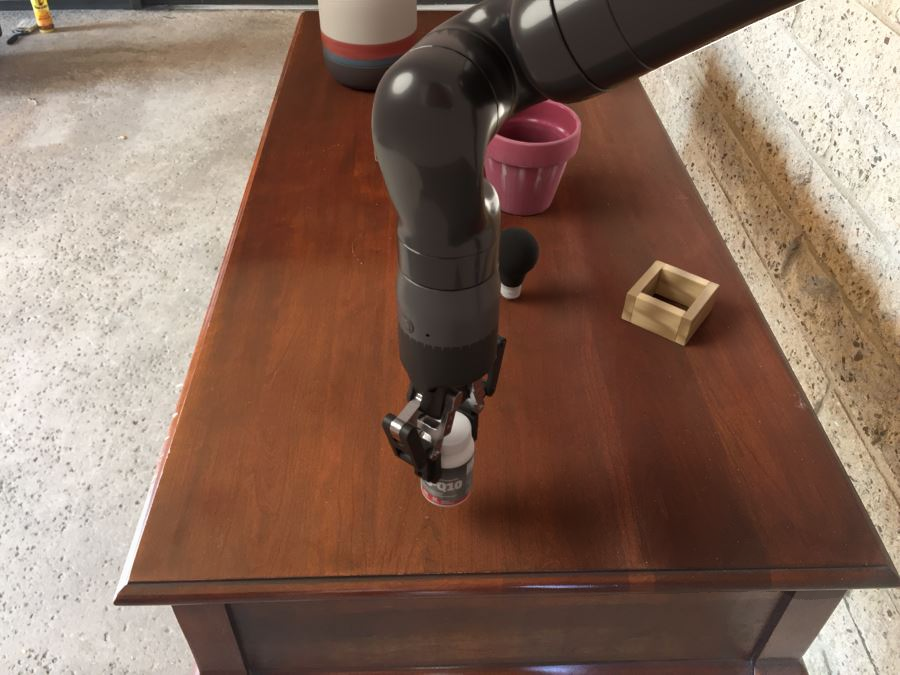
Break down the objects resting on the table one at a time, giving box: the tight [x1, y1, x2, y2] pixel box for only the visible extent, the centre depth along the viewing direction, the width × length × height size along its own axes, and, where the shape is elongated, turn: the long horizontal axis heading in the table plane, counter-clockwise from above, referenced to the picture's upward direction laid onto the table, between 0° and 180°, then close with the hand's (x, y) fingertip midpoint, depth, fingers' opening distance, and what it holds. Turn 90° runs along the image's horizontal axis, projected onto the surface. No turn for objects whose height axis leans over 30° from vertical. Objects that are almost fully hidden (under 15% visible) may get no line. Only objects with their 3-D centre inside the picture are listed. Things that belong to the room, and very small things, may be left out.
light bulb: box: [499, 226, 540, 300], centre depth 94 cm, size 6×6×10 cm
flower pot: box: [484, 99, 582, 216], centre depth 109 cm, size 14×14×13 cm
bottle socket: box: [621, 259, 720, 347], centre depth 94 cm, size 8×8×4 cm
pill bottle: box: [420, 411, 475, 508], centre depth 69 cm, size 5×5×8 cm
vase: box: [317, 0, 418, 91], centre depth 135 cm, size 17×17×24 cm
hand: (447, 456), depth 68 cm, fingers closed on pill bottle, 4 cm apart
